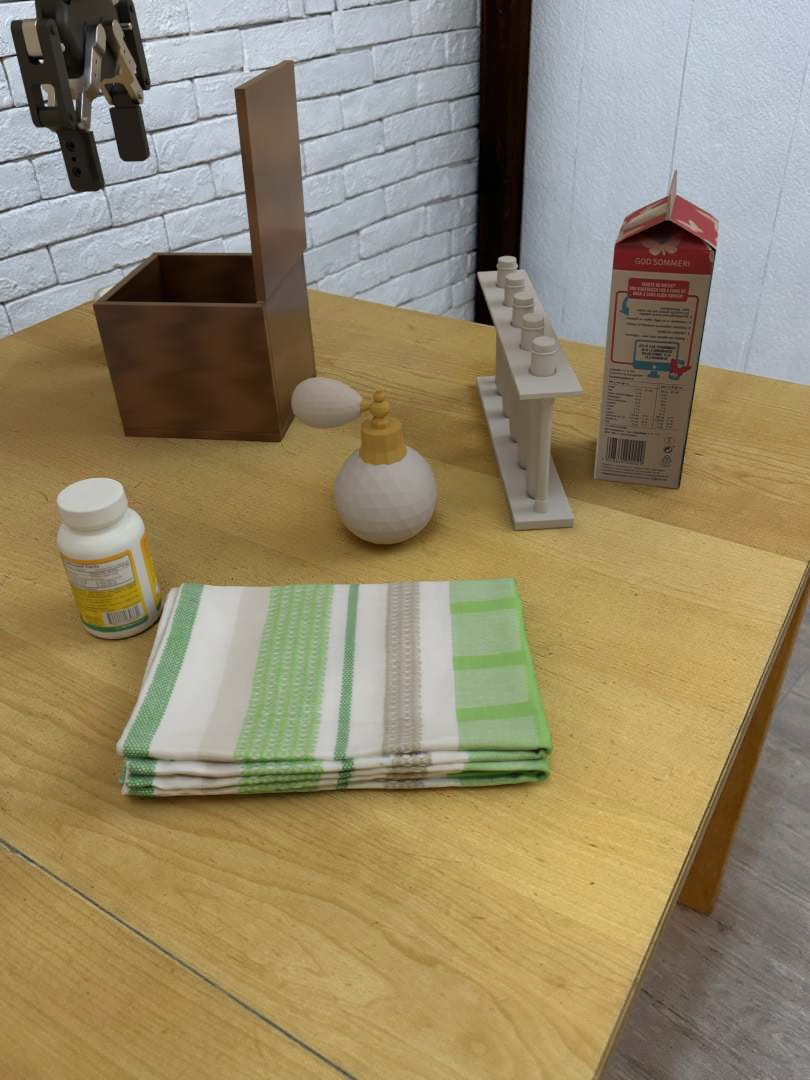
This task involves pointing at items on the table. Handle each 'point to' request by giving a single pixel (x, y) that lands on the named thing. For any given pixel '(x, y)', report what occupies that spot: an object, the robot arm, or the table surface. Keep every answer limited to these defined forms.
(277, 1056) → the table surface
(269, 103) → the lid
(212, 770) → the dish towel
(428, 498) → the perfume bottle
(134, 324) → the chest
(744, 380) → the table surface
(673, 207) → the juice carton
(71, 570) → the supplement bottle
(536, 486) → the test tube rack
